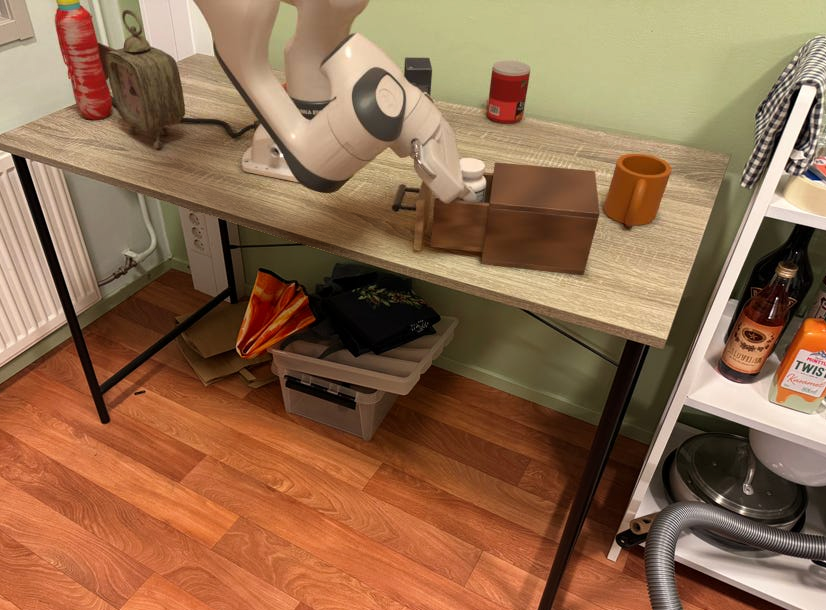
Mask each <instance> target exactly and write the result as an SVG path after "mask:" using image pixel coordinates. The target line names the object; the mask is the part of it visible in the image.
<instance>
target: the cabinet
mask: <svg viewBox="0 0 826 610" xmlns="http://www.w3.org/2000/svg"><path fill="white" fill-rule="evenodd" d="M492 173H493V181H492V188H491V196H490V204H489V211H488V218H487V225H486V233H485V240H484V247H483V252H481V253H482V254H481V262H480V263H481V265H489V266H498V267H507V268H516V269H525V270H534V271H543V272H553V273H562V274H571V275H579V276H584V274H585V271H586V268H587V264H588V259H589V256H590V252H591V248H592V245H593V241H594V237H595V235H596V230H597V226H598V222H599V218H600V214H601V212H600V203H599V194H598V186H597V177H596V176H597V175H596V170H590V169H589V170H588V169H577V168H566V167H555V166H553V167H552V166H541V165H531V164H530V165H529V164H519V163H518V164H517V163H509V162H507V163H506V162H497V161H495V162H494V166H493V172H492Z"/></svg>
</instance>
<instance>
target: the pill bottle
mask: <svg viewBox="0 0 826 610" xmlns="http://www.w3.org/2000/svg"><path fill="white" fill-rule="evenodd" d="M460 165H461V171H462V177H463V181H464V183H465V184H466V185H467V186H468V187H469V186H470V187H471V188H472V189H473V190H474V191H475V192H476V196H477V199H476V200H475V201H474V202H482V203H484V198H485V190H486V179H485V177H484V176H483V174H484V172H486V171H485V169H486V164H485V163H484V162H483V161H482V160H480V159H478V158H474V157H464V158H463V157H462V159H460ZM454 200H461V201H464V200H463V199H462V198H460V197H457V198H455V199H454Z"/></svg>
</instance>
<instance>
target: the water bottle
mask: <svg viewBox="0 0 826 610" xmlns="http://www.w3.org/2000/svg"><path fill="white" fill-rule="evenodd" d="M55 1H56V4H57V8H56V11H55V14H54V25H55V31H56V36H57V40H58V45H59V49H60V52H61V56H62V60H63V63H64V64H65V66H66V67H67V76H68V80H70V83H71V88H72V92H73V93H72V94H73V97H74V100H75V104H76V107H77V109H78V111H79V112H80V114H81V115H82V116H83V117H84V118H86V120H93V121H98V120H103V119H106V118H108V117H109V116H110V115H111V113H112V108H113V104H112V99H111V96H112V95H111V91H110V87H109V84H108V81H109V77H108V72H107V68H106V61H105V53H106V52H110V51H114V50H116V49H115V48H112V47H110V46H107V45H106V44H103V43H100V42H98V37H97V33H96V30H95V24H94V21H93V14H92V13H91V12H90V11H88V10H87V9H86V8H84V6H83V5H82V4H81V2H80V0H55Z"/></svg>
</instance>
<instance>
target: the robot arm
mask: <svg viewBox="0 0 826 610" xmlns="http://www.w3.org/2000/svg"><path fill="white" fill-rule="evenodd" d="M192 1H193V3H194V4H195V5H196V7H197V8H198V9H199V11H200V13H201V14H202V16H203V18H204V20H205V22H206V23H207V26H208V28H209V31H210V32H211V36H212V38H213V46H212V47H213V52H214V56H215V58H216V60H217V62H218V63H219V66H220V67H221V69H222V70H223V73H224V74H225V75H226V76H227V78H228V80H229V81H230V83H231V84H232V85H233V87H234V88H235V90H236V92H238V93H239V96H241V98H242V100H243V101H244V102H245V104H246V105H247V106H248V108H249V109H250V110H251V112H252V113H253V114H254V116H255V117H256V119H257V120H253V122H252V123H251V124H248V125H246V126H244V127H243V128H242V129H240V130H239V131H238V132H234V131H233V128H232V127H231V125H230V124H229V123H228V122H227V121H225V120H222V119H217V118H201V117H200V118H198V117H197V118H196V117H183V118H182V120H181V121H180V122H179V123H188V124H189V123H192V124H215V125H220V126H223V127H225V129H226V130H227V132H228V134H229V135H230V136H231V137H232V138H240V137H242V136H243V135H245V134H246V133H247V132H248V131H250V130H254V131H253V132H254V134H253V136H252V141H251V145H250V146H249V147H248V148H247V150H246V151H245V152H244V153H243V155H242V158H241V169H242V171H243V172H246V173H250V174H255V175H259V176H264V177H268V178H269V177H270V178H274V179H280V180H284V181H291V182H293V183H299V184H300V185H301V186H302V187H304V188H306V189H308V190H310V191H313V192H317V193H321V194H334V193H337V192H338V191H339V190H340V189H341V188H342V187H343V186H345V185H346V183H348V182H349V181H350V180H351V179H352V178H353V177H354V175H355V174H357V173H358V172H360V171H361V170H362V169H363V168H365V167H366V166H367V165H368V164H370V163H372V162H373V161H374V160H375V159H376V158H377V157H378V156H379V155H381V154H382V153H383V152H385V151H386V150H388V148H389V149H390V150H391V151H392V152H393V153H394V154H395V155H396V156H397V157H398V158H400V159H404V158H407V157H410V158H411V159H412V160H413V168H414V171H415V172H416V174H417V176H418V177H419V178H420V180H421V182H422V181H423V182H424V183H425V184H426V185H427V186H428V187H429V189H430V190H431V191H432V194H433V195H435V197H436V198H439V199H440V200H441V201H442V202H444V203H446V204H448V203H450V202H451V201H453V200H454V199H455V198H457V197H460V198H462V199H463V200H464V201H472V202H474V201H475V200H476V199H477V196H476V192H475V191H474V190H473V189H472V188H471V187H470V186H469V187H468V186H467V185H466V184H465V183H464V181H463V177H462V171H461V165H460V159H463V157H462V155H461V154H460V152H459V147H458V140H457V135H456V133H455V131H454V130H453V128H452V126H451V125H450V124H449V123H448V121H447V119H445V117H444V116H443V115H442V112H441V110H439V109H438V107H437V106H436V105H435V102H434V98H432V97H431V95H430V96H429V95H428V94H427V93H426V92H423V93H422V92H421V91H420V90H419V89H418V88H417V87H415V86H413V85H412V84H410V83H409V82H408V81H407V80H406V78H405V77H404V72H403V70H402V69H401V68H400V67H399V66H398V65H397V64H396V62H395V61H394V60H393V59H392V58H391V57H390V56H389V55H388V54H387V53H386V52H385V51H384V50H383V49H382V48H380V47H379V46H378V45H377V44H376V43H374V41H373V40H371V39H370V38H368V37H367V36H365V35H363V34H362V33H360V32H354V33H351V30H352V27H353V24H354V22H355V21H356V19H357V17H359V16H360V15H361V14H362V13H363V12H364V11H365V10H366V9H367V7H368V5H369V4H370V2H371V0H192ZM281 3H284V4H287V5H289V6H293V7H295V8H296V12H297V19H296V26H295V31H294V34H293V36H292V37H291V38H289V40H288V41H287V42H286V43H285V45H284V49H283V58H284V73H285V83H283V84H282V83H281V82H280V81H279V79H278V77H277V76H276V74H275V73H274V71H273V69H272V66H271V63H270V58H269V57H270V55H269V48H270V40H271V37H272V33H273V29H274V26H275V23H276V21H277V18H278V15H279V10H280V6H281ZM350 33H351V34H350ZM111 99H112V106H113V107H115V108H116V109H117V107H116V104H115V101H114V97H113V95H111Z"/></svg>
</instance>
